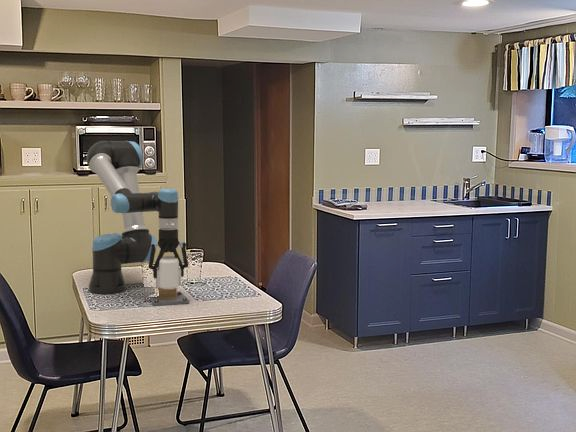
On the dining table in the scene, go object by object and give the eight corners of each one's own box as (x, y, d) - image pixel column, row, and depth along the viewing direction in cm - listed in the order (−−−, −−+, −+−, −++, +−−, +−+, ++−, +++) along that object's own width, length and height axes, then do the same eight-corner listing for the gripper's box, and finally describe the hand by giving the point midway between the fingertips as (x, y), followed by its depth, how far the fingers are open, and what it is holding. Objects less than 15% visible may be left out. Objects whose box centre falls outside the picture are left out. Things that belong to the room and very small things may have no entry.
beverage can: (169, 284, 283) (169, 255, 282) (183, 287, 278) (183, 257, 277) (153, 287, 277) (153, 257, 276) (167, 290, 272) (167, 260, 271)
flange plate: (153, 306, 270) (153, 295, 270) (147, 297, 283) (147, 288, 283) (189, 303, 275) (189, 293, 274) (182, 295, 288) (182, 286, 287)
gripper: (142, 230, 268) (143, 289, 271) (196, 229, 275) (196, 286, 278) (140, 228, 275) (140, 285, 278) (192, 226, 282) (192, 282, 285)
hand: (168, 285), depth 278 cm, fingers closed on beverage can, 8 cm apart
